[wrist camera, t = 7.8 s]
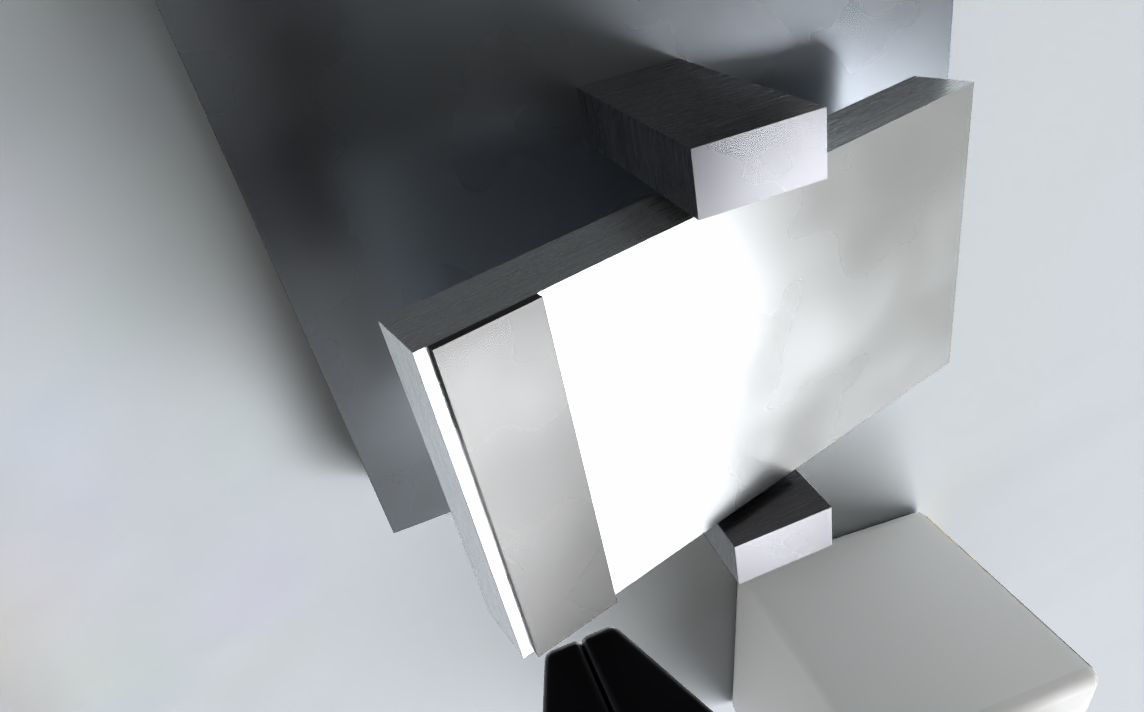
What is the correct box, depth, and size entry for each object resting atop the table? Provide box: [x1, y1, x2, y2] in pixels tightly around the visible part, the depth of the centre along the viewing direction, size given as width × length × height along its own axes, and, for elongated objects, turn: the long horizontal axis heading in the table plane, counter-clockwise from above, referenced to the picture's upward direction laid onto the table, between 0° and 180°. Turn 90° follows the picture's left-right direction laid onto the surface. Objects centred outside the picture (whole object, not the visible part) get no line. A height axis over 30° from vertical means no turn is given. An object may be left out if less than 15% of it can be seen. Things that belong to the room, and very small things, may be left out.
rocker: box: [378, 76, 974, 658], centre depth 13 cm, size 11×6×1 cm, turn 101°
